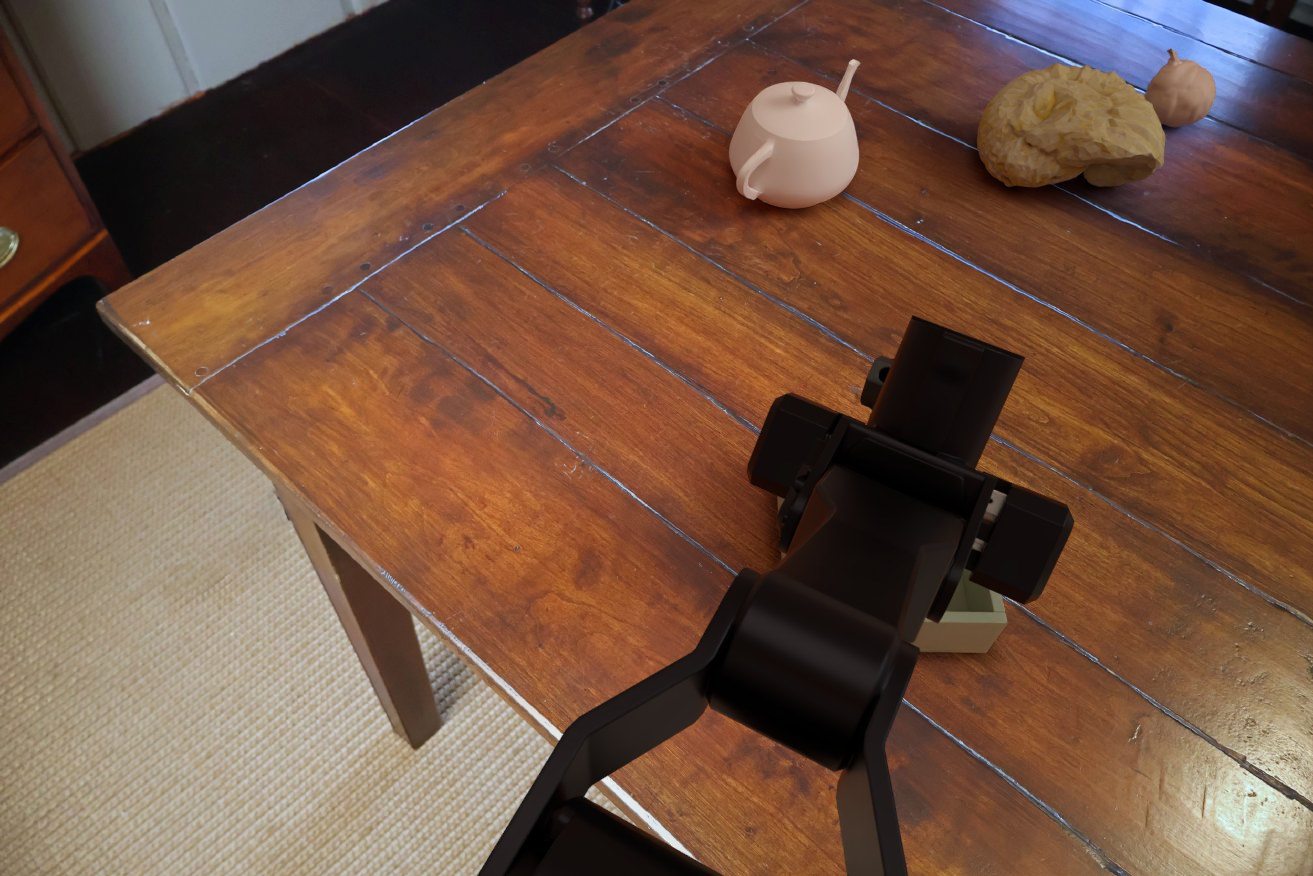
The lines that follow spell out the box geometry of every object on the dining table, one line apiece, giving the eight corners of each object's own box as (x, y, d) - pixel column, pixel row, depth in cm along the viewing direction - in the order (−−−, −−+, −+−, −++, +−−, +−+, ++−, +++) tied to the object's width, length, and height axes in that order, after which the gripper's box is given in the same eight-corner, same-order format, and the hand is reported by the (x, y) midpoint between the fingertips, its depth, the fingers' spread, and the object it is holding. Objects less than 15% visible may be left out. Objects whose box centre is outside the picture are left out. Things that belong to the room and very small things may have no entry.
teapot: (794, 103, 102) (808, 13, 93) (897, 150, 97) (921, 59, 89) (681, 202, 92) (685, 112, 84) (790, 259, 88) (805, 169, 80)
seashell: (1031, 129, 104) (935, 146, 96) (1084, 33, 96) (983, 43, 89) (1152, 221, 95) (1055, 247, 88) (1220, 123, 88) (1120, 143, 80)
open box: (986, 653, 66) (1008, 623, 62) (788, 649, 66) (797, 619, 62) (948, 464, 75) (965, 428, 71) (774, 461, 75) (782, 424, 71)
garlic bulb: (1153, 94, 104) (1187, 25, 97) (1209, 120, 101) (1248, 51, 95) (1123, 121, 101) (1156, 51, 94) (1180, 148, 98) (1218, 79, 92)
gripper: (1134, 444, 47) (1099, 420, 62) (787, 310, 52) (831, 318, 67) (1039, 641, 50) (1027, 573, 64) (715, 495, 55) (772, 463, 69)
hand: (912, 476), depth 66 cm, fingers closed on pill bottle, 6 cm apart
